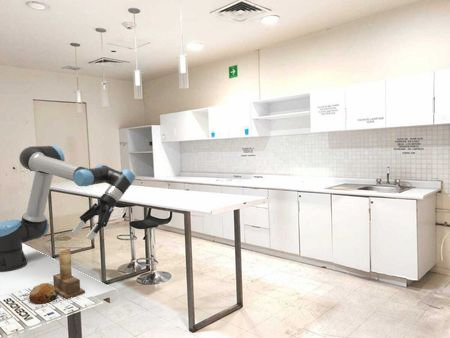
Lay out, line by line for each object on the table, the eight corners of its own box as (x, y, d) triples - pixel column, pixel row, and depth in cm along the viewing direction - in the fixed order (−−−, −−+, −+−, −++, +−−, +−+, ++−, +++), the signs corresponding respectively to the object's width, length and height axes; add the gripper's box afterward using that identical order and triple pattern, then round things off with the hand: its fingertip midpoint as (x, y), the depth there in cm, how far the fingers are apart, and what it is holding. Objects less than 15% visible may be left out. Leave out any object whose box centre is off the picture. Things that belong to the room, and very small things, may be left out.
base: (49, 289, 150) (48, 275, 150) (67, 283, 156) (67, 270, 156) (65, 299, 140) (65, 285, 139) (85, 293, 146) (84, 279, 145)
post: (58, 277, 147) (57, 250, 146) (68, 274, 151) (67, 247, 150) (63, 280, 145) (61, 252, 144) (73, 277, 148) (72, 249, 147)
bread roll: (53, 300, 147) (48, 282, 149) (63, 296, 141) (58, 277, 143) (28, 309, 140) (23, 290, 141) (37, 305, 134) (32, 285, 135)
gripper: (131, 205, 156) (101, 245, 146) (102, 200, 173) (74, 235, 163) (120, 195, 152) (89, 236, 142) (91, 190, 168) (62, 227, 158)
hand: (81, 236), depth 152 cm, fingers open, 13 cm apart
